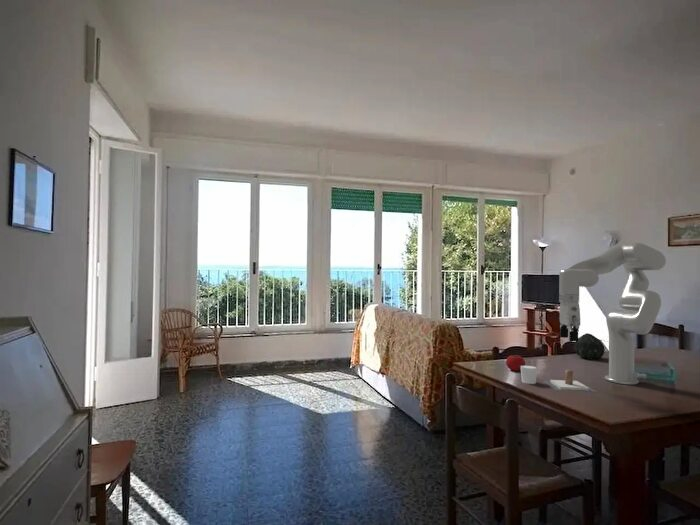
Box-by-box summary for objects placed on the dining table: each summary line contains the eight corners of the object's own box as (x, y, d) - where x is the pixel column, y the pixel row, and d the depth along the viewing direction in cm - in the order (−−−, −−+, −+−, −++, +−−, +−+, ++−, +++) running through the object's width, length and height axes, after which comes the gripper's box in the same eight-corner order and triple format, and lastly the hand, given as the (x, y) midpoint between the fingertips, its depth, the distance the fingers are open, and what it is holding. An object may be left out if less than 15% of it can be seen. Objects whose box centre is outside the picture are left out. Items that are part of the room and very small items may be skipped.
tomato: (514, 367, 208) (515, 351, 208) (529, 371, 200) (529, 355, 200) (501, 369, 204) (502, 352, 205) (516, 373, 196) (516, 356, 197)
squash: (597, 346, 242) (581, 326, 242) (615, 352, 227) (598, 331, 227) (579, 362, 242) (563, 342, 241) (595, 369, 227) (578, 348, 226)
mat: (581, 383, 180) (581, 382, 180) (597, 392, 166) (597, 391, 166) (543, 381, 182) (543, 380, 182) (555, 391, 168) (555, 390, 168)
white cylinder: (539, 385, 175) (539, 369, 176) (521, 384, 177) (522, 368, 177) (535, 381, 182) (535, 365, 182) (518, 380, 184) (518, 364, 184)
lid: (576, 383, 179) (576, 368, 179) (588, 390, 168) (588, 374, 168) (550, 382, 180) (550, 367, 180) (560, 389, 169) (560, 373, 169)
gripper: (588, 300, 166) (587, 343, 165) (569, 297, 183) (569, 336, 183) (568, 299, 166) (568, 342, 166) (552, 297, 184) (551, 335, 183)
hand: (568, 339), depth 174 cm, fingers open, 9 cm apart
